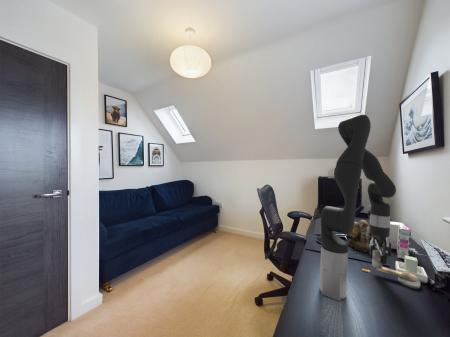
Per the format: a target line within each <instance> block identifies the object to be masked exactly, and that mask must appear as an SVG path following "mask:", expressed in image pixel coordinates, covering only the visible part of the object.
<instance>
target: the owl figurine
mask: <svg viewBox="0 0 450 337" xmlns="http://www.w3.org/2000/svg"><path fill="white" fill-rule="evenodd" d="M368 233H369V223H368V222H367V221H366V220H364V219H360V220H359V222H357V221H355V223H354V228H353V231H352V233H351V234H347V236H348V237H349V238H352V239H350V240H348V241H346V243H347V244H348V245H349V246H348V247H350V246H351V248H353V247H354V248H356V249H359V250H362V251H366V252H370V246H369V244H368ZM370 241H371V240H370ZM354 248H353V249H354ZM375 248H376V250H378V248H377V247H375ZM356 249H355V250H356ZM359 250H358V251H359ZM362 251H361V252H362ZM366 252H365V253H366Z"/></svg>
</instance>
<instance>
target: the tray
mask: <svg viewBox="0 0 450 337" xmlns="http://www.w3.org/2000/svg"><path fill="white" fill-rule="evenodd" d="M394 268H395V270H396V271H400V272H408V273H411V274H414V275H415V276H417V279H418V280H419V281H420V282H421V283H424V284H428V278H429V276H428V275H427V272H426V270H425V269H424V267H422V266H418V265H417V273H414V272H410V271H406V270H404V262H402V261H397V260H395V267H394Z"/></svg>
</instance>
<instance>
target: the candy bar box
mask: <svg viewBox="0 0 450 337" xmlns="http://www.w3.org/2000/svg"><path fill="white" fill-rule="evenodd" d="M404 225H405V224H404ZM404 225H399V226H398V240H397V249H396V256H397V257H396V258H397V259H401V260H404V261H405V255H406V256H410V247H411V235H412V232H411V231H412V230H411V227H410V226H409V225H405V226H404Z"/></svg>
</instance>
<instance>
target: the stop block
mask: <svg viewBox="0 0 450 337" xmlns="http://www.w3.org/2000/svg"><path fill="white" fill-rule="evenodd" d="M403 263H404V270H406V271H410V272H414V273H417V266H418V263H419V262H418V259H417V257H413V256H410V255H409V256H406V255H405V260H404V262H403Z"/></svg>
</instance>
